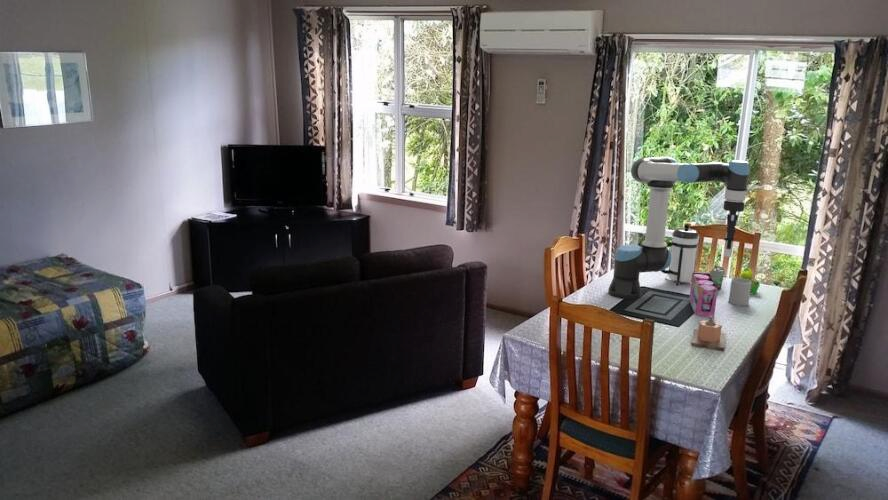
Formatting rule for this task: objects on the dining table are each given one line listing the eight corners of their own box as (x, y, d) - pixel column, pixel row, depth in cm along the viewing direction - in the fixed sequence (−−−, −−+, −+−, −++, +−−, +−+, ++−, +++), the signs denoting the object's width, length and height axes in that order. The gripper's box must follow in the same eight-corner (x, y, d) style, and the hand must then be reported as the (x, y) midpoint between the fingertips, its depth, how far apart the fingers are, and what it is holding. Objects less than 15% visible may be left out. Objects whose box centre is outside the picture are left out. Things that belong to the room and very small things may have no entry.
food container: (720, 293, 325) (723, 273, 322) (707, 290, 328) (709, 271, 325) (725, 286, 335) (728, 267, 332) (712, 284, 338) (715, 265, 336)
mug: (748, 307, 306) (751, 284, 303) (727, 304, 309) (731, 281, 306) (748, 299, 316) (752, 277, 313) (729, 296, 320) (732, 274, 317)
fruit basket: (732, 292, 326) (735, 270, 324) (732, 287, 334) (735, 265, 332) (758, 295, 323) (761, 272, 320) (757, 290, 331) (760, 268, 328)
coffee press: (668, 275, 351) (674, 219, 344) (699, 281, 342) (706, 223, 335) (657, 283, 338) (663, 225, 330) (689, 289, 329) (696, 230, 321)
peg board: (690, 345, 261) (693, 320, 258) (693, 331, 275) (696, 308, 273) (724, 350, 257) (727, 325, 254) (724, 336, 271) (728, 312, 268)
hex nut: (719, 343, 261) (721, 328, 259) (696, 339, 264) (698, 325, 262) (720, 336, 267) (722, 322, 266) (697, 333, 270) (699, 319, 269)
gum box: (715, 319, 290) (719, 289, 287) (695, 317, 292) (699, 287, 288) (706, 301, 313) (709, 273, 310) (688, 299, 315) (691, 271, 311)
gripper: (745, 206, 253) (737, 261, 258) (744, 196, 275) (737, 246, 280) (723, 204, 255) (716, 258, 261) (725, 194, 278) (718, 244, 283)
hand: (727, 252), depth 271 cm, fingers open, 13 cm apart
